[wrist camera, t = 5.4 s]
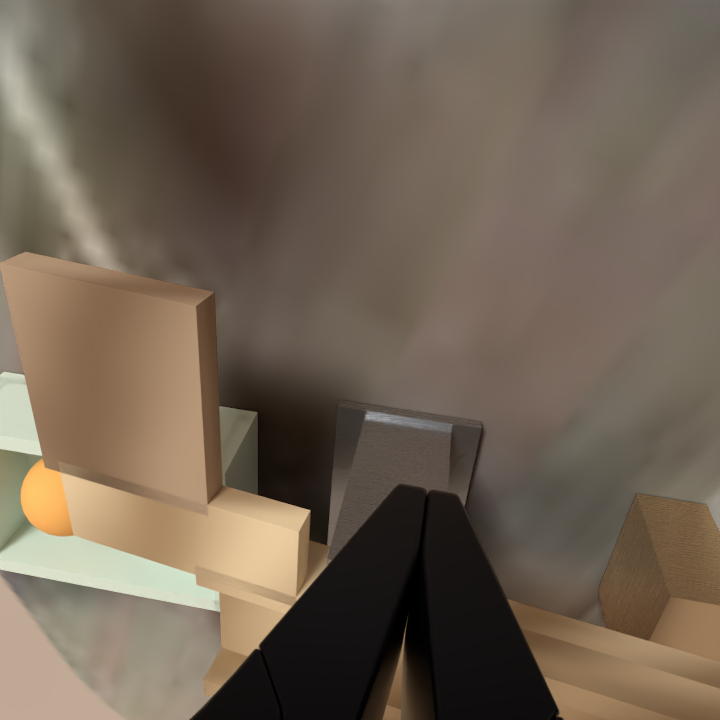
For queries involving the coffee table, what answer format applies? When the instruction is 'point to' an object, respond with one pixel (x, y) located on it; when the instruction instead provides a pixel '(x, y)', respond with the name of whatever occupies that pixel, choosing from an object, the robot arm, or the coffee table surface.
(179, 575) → the mint cubby shelf
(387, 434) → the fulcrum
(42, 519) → the ball
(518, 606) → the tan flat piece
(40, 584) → the coffee table surface
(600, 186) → the coffee table surface
